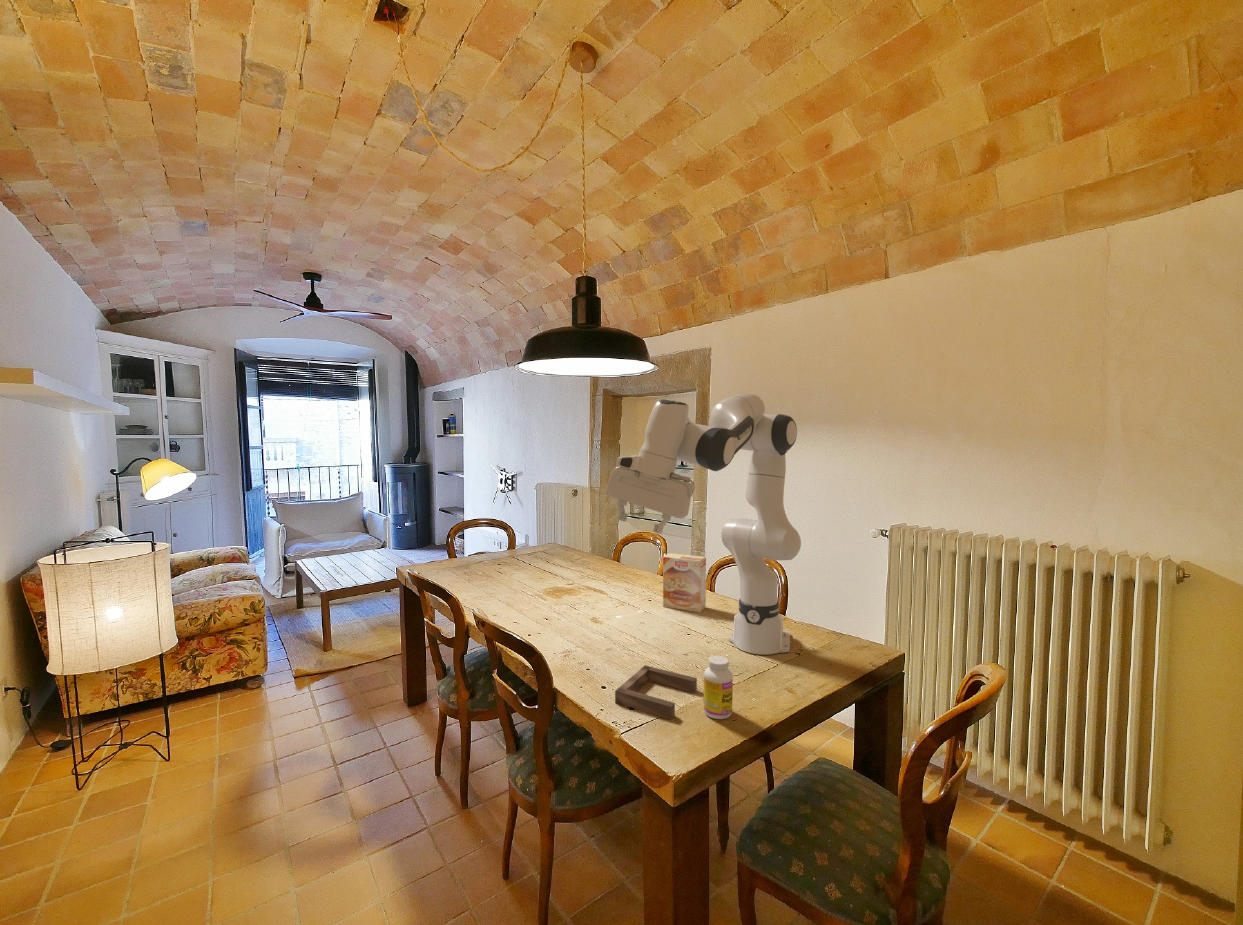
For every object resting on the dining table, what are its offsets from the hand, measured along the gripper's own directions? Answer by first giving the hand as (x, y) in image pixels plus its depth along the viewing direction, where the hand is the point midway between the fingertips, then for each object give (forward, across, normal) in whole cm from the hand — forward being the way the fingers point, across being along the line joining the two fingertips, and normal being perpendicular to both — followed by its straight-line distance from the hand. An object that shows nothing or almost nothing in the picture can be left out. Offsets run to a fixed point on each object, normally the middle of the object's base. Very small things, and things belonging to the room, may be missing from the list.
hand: (639, 526), depth 118 cm
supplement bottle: (+38, -24, -18) cm, 49 cm away
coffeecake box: (+34, +12, -83) cm, 90 cm away
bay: (+41, -10, -18) cm, 46 cm away
